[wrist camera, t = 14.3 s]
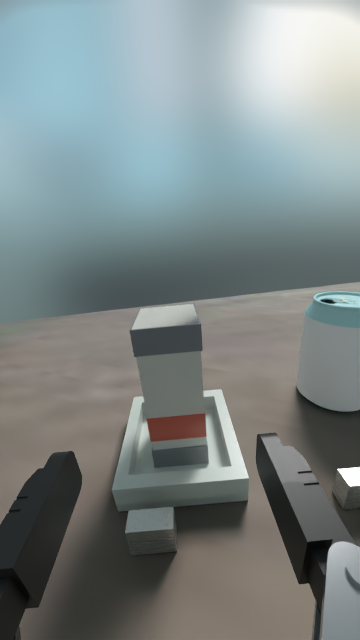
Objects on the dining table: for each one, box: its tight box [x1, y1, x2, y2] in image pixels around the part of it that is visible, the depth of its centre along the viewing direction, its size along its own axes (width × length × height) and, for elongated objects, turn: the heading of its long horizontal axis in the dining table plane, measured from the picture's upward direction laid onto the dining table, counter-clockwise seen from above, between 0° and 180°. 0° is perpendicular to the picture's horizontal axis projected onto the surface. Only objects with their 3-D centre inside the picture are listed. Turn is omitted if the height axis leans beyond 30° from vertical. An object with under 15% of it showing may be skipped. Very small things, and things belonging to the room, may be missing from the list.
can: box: [296, 292, 360, 412], centre depth 25 cm, size 7×7×12 cm
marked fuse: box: [130, 304, 209, 468], centre depth 19 cm, size 5×5×13 cm
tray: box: [112, 389, 249, 512], centre depth 21 cm, size 10×10×2 cm
